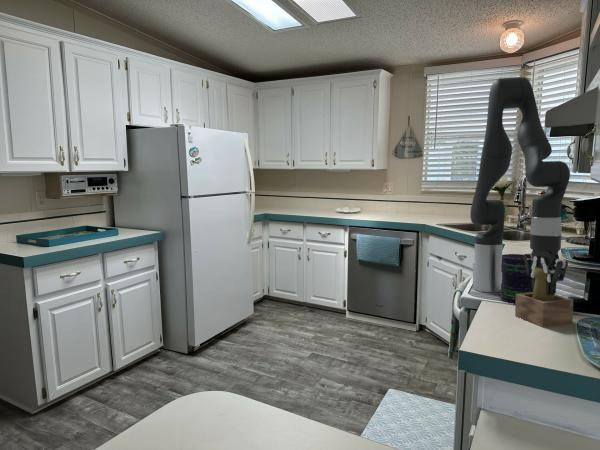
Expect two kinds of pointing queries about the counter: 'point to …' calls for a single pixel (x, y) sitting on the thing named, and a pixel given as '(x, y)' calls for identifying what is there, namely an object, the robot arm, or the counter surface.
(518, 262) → the storage jar
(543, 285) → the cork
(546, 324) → the open walnut box
